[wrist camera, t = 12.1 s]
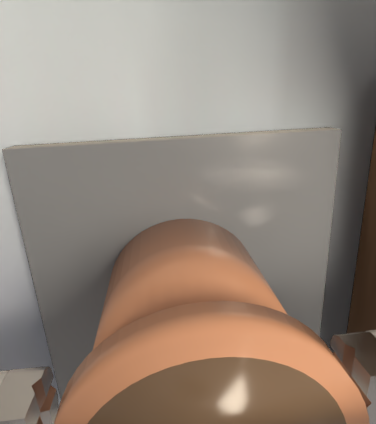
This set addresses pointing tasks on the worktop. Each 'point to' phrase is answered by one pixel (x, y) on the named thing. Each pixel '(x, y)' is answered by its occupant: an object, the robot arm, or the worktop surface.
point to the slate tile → (170, 216)
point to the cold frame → (366, 262)
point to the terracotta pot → (203, 343)
